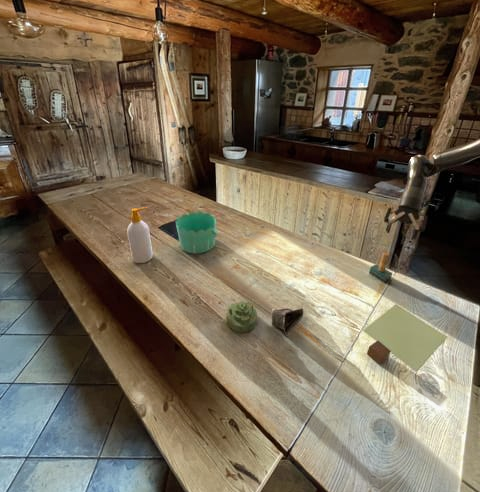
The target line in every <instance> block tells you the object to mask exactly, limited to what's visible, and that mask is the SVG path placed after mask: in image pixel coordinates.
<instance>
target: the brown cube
mask: <svg viewBox="0 0 480 492" xmlns="http://www.w3.org/2000/svg"><path fill="white" fill-rule="evenodd" d="M366 355H367V356H368V357H369V358H370V359H371V360H373V361H374V363H376V364H377V365H378V366H381V365H382V364H383V363H384V362H386V361H387V360H389V358H390V356H391V351H390V350H389V349H388V348H387V347H386V346H384V345H383V344H382V343H381V342H380V341H376V340H375V342H373V343H371V344H370V345H368V349H367V351H366Z"/></svg>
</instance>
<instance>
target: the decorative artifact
mask: <svg viewBox="0 0 480 492" xmlns="http://www.w3.org/2000/svg"><path fill="white" fill-rule="evenodd" d="M225 319H226V324H227V326H228V327H229V329H231V330H233V331H234V332H237V333H246V332H249V331H252V330H253V329H254V328H255V327H256V325H257V321H258V313H257V309H256V307H255V306H254V305H253V304H252V303H251V302H250V301H246V302H245V301H238V302H235V303H231V304H230V306H229V307H228V308H227V310H226V318H225Z"/></svg>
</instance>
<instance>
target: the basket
mask: <svg viewBox="0 0 480 492" xmlns="http://www.w3.org/2000/svg"><path fill="white" fill-rule="evenodd" d="M175 226H176V231H177V236H178V240H179V241H178V242H179V246H180V249H181V250H182V251H184V252H186V253H188V254H202V253H203V254H204V253H206V252H208V251H210V250H212V249H214V247H215V245H216V237H218V236H219V235H218V233H217V218H215V215H214V214H213V215H211V214H210V213H209V212H205V213H204V212H203V211H197V212H194V211H191V212H189V213H188V214H187V213H184V214H181V217H180V216H177V218H176V220H175Z"/></svg>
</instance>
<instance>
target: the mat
mask: <svg viewBox="0 0 480 492" xmlns="http://www.w3.org/2000/svg"><path fill="white" fill-rule="evenodd" d="M362 331H363V332H364V334H367V335H368V336H369V337H370V338H372V339H373V341H375V342H376V341H380V342H381V343H382V344H383V345H384V346H386V347H387V348H388V349H389V350H390V351H391V352H390V354H392V355H393V356H394V357H396V358H397V359H398V360H400V361H401V362H402V363H404V365H406V366H408V367H409V368H410V369H411V370H413V371H414V372H415V373H416V372H417V371H418V370H419V369H420V368H421V367H422V365H424V364H425V362H426V361H427V360H428V359H429V358H430V357H431V356H432V355H433V353H435V351H436V350H437V349H438V348H439V347H440V346H441V344H443V342H445V340H446V339H447V338H448V336H447V335H446V334H445V333H443V332H441V331H439V330H438V329H436V328H435V327H434V326H432V325H430V324H429V323H427V322H426V321H424V320H422V319H421V318H419V317H417V316H416V315H414V314H413V313H411V312H410V311H407V310H406V309H405V308H403V307H401V305H398V304H397V303H395V304H394V305H392V306H391V307H390V308H389V309H387V310H386V311H385V312H384V313H382V314H381V315H380V316H379V317H377V318H376V319H374V320H373V321H371V323H370V324H369V325H367V326H366V327H365V328H363V329H362Z"/></svg>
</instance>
